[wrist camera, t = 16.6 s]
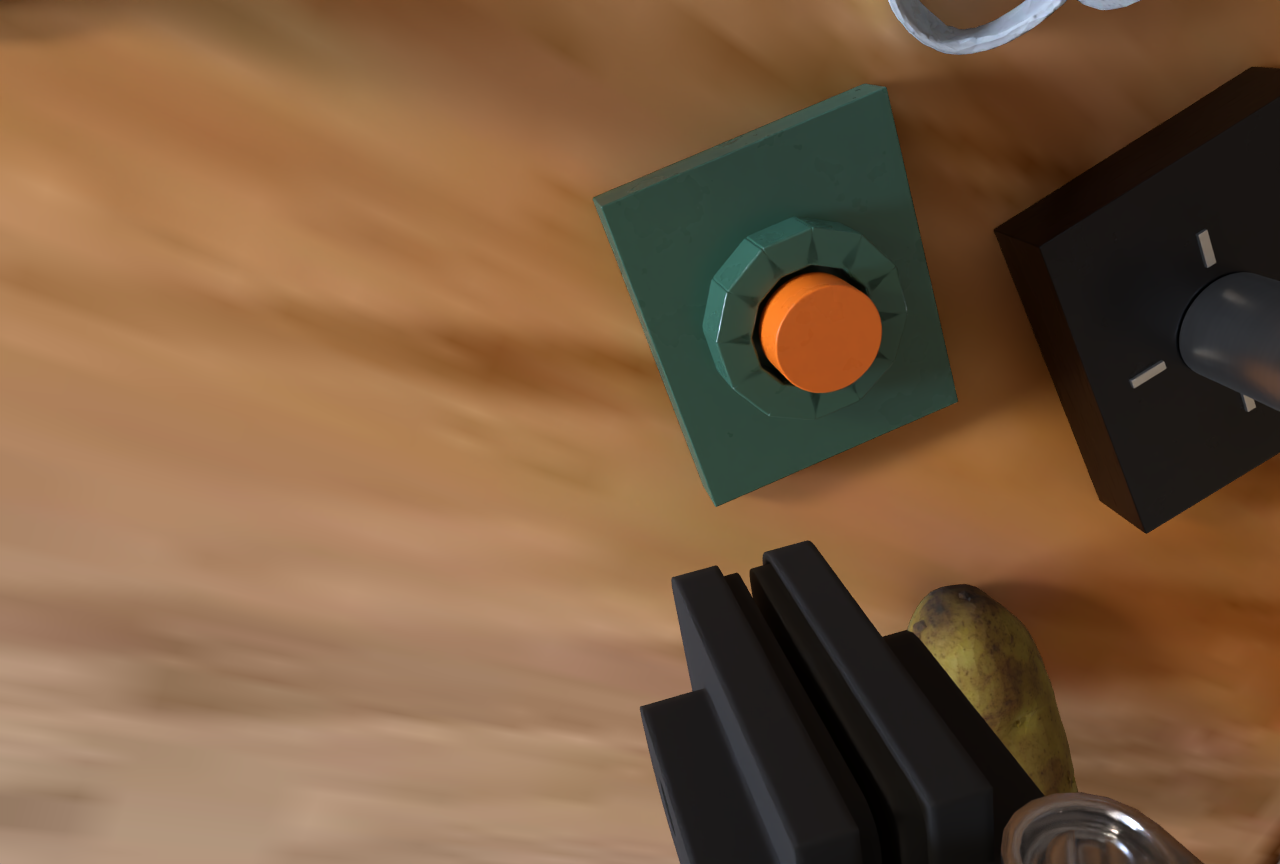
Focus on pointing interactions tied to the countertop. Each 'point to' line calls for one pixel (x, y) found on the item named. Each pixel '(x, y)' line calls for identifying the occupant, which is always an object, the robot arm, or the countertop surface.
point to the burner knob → (1236, 335)
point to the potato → (999, 678)
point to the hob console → (1156, 297)
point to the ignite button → (820, 332)
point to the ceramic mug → (985, 37)
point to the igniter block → (758, 265)
